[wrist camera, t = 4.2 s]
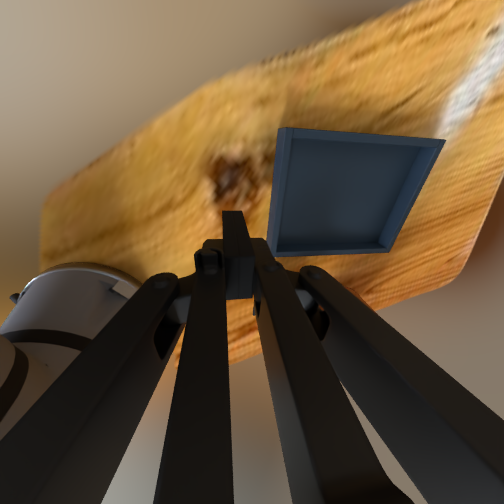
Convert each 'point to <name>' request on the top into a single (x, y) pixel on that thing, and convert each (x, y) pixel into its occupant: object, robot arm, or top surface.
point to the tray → (344, 190)
